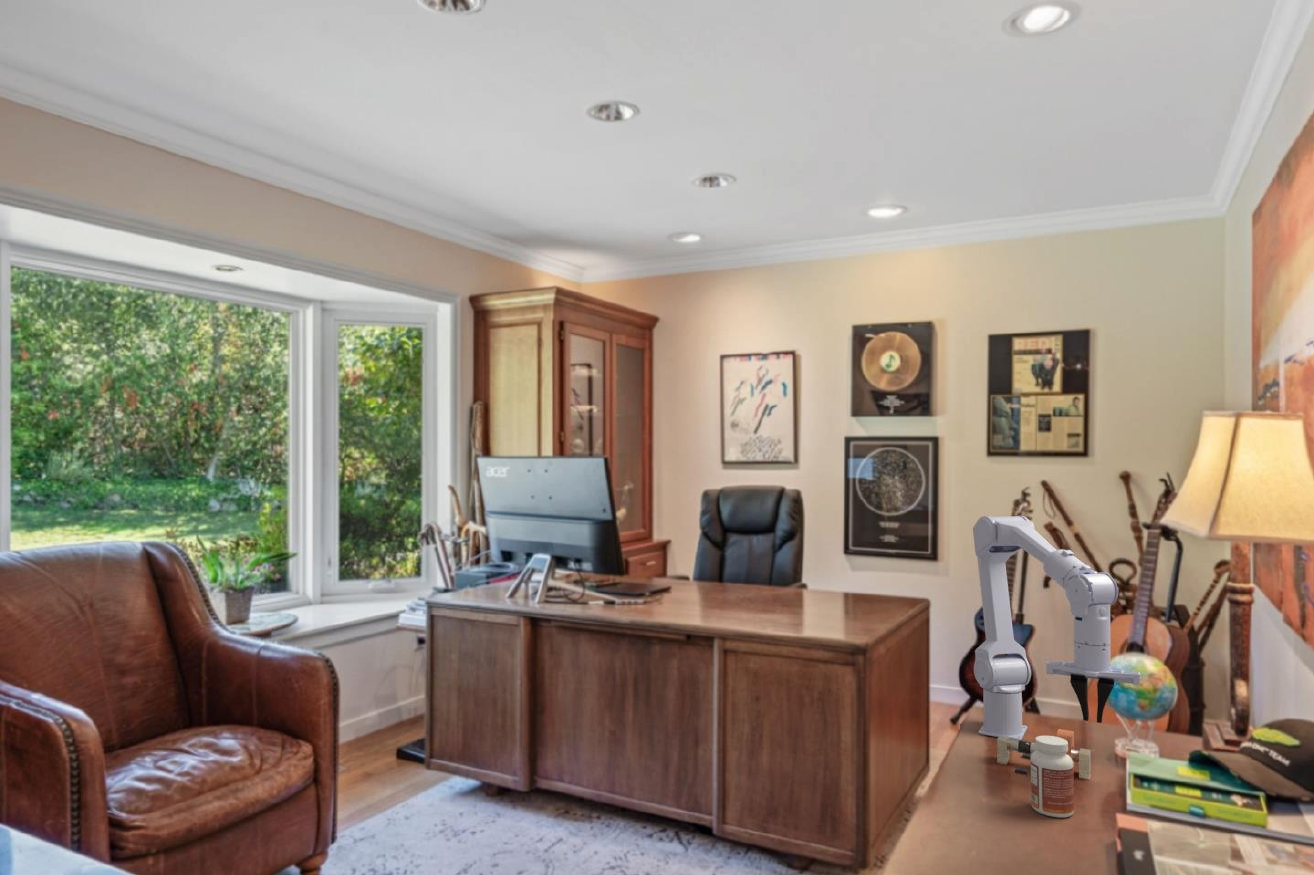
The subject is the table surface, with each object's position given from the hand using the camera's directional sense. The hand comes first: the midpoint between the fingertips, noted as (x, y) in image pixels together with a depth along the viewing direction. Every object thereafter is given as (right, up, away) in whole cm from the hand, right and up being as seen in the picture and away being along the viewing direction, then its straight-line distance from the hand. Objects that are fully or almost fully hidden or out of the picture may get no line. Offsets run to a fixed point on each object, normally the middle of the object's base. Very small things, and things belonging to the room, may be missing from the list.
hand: (1092, 720), depth 145 cm
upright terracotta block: (-4, -10, +2) cm, 11 cm away
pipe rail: (-7, -10, +4) cm, 13 cm away
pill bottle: (-14, -10, -14) cm, 22 cm away
